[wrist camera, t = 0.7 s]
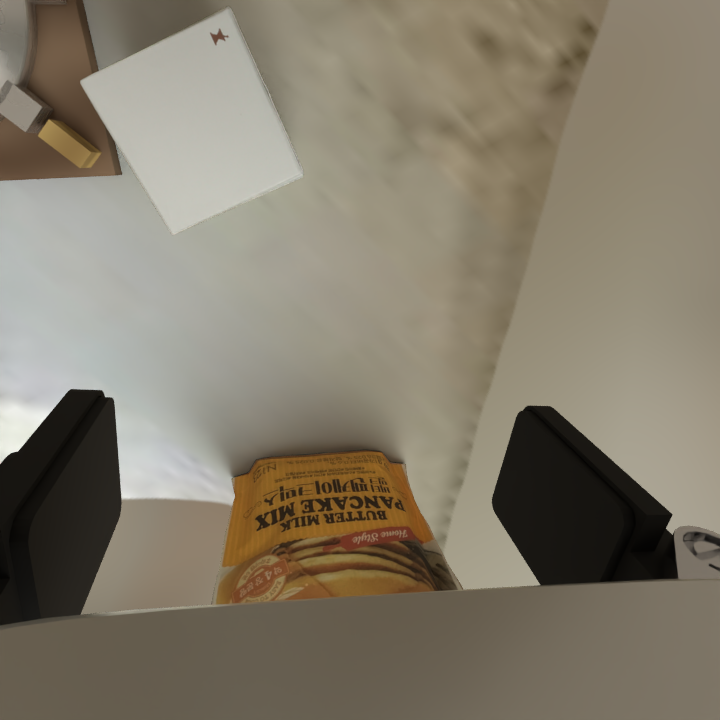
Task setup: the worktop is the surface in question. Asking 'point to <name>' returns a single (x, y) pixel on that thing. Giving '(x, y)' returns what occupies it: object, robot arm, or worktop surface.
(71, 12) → the walnut plinth
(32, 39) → the sprocket wheel
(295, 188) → the worktop surface
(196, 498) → the worktop surface
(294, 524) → the pancake mix bag
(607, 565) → the robot arm
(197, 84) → the supplement box
